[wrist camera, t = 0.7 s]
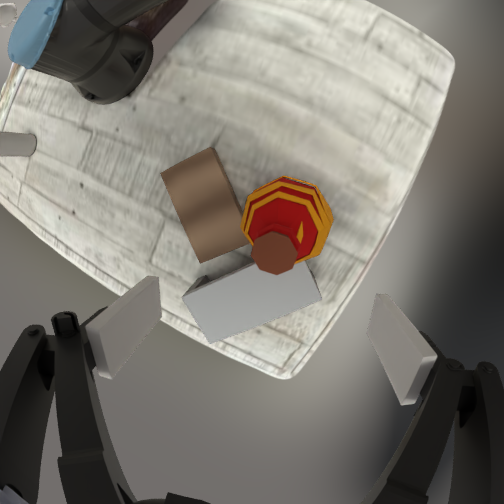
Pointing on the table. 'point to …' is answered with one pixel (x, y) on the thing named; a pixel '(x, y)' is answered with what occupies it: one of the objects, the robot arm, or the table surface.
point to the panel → (206, 204)
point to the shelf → (248, 299)
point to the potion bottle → (285, 224)
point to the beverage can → (17, 144)
